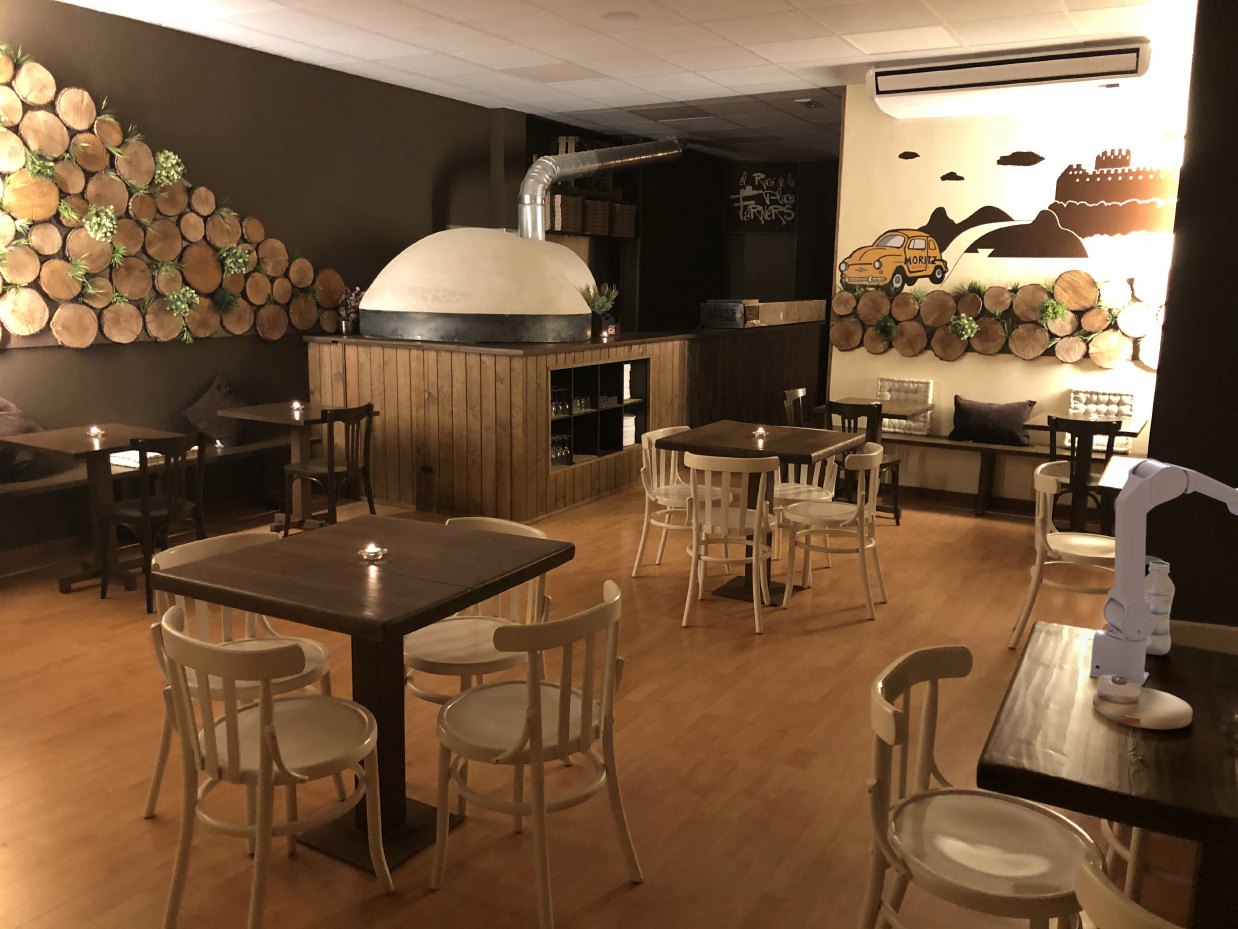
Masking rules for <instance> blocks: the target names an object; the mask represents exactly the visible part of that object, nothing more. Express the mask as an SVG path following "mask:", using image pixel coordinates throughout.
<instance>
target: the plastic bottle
mask: <svg viewBox="0 0 1238 929" xmlns="http://www.w3.org/2000/svg"><path fill="white" fill-rule="evenodd" d="M1148 571H1150V573H1149V574H1148V575H1147V576H1146V577H1145V593H1146V595H1147V597H1148V600H1149V602H1150V611H1151V614H1152V616H1153V618H1154V620H1155V627H1154V630H1153V632H1152V633H1151V634H1150V635H1149V636H1148V637H1147V645H1146V654H1148V655H1153V656H1164V655H1167V653H1168V652H1170V650H1171V645H1172V639H1171V634H1170V618H1171V615H1170V613H1171V612H1172V611H1171V610H1172V604H1173V599H1174V596H1175V591H1176V587H1175V584H1174V583H1173V581H1172V579H1171V578H1170V577H1169V575H1168V574H1169V573H1170V571H1171V570H1170V563H1169V562H1165V561H1163V562H1162V561H1151V562H1150V565H1149V569H1148Z"/></svg>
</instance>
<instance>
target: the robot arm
mask: <svg viewBox="0 0 1238 929" xmlns="http://www.w3.org/2000/svg"><path fill="white" fill-rule="evenodd" d="M1127 476H1128V477H1127V480H1126V481H1125V483H1124V485H1123V486H1122V488H1121V490H1120V492H1119V494H1118V495H1117V497H1116V499H1115V524H1114V525H1115V530H1114V532H1115V534H1114V581H1113V582H1114V585H1113V587H1112V588H1110V589H1109V590H1108V591H1107V599H1106V602H1105V604H1104V605H1103V607H1102V616H1103V618H1104V619H1105V621H1106V622H1107V627H1106V629H1097V630H1095V633H1094V635H1093V641H1092V645H1091V646H1092V648H1091V649H1092V650H1091V658H1090V659H1091V661H1090V662H1091V663H1090V672H1089V677H1093V678H1097V679H1098V677H1100V676H1102V675H1120V676H1125V677H1129V678H1132V679H1134V680H1136V681H1138V682H1139V683H1140V687H1143V685H1144V683H1145V682H1146V680H1147V679H1148V678H1149V676H1150V673H1149V671H1145V667H1146V645H1147V637H1148V636H1149V635H1150V634H1151V633H1152V632H1153V630H1154V627H1155V620H1154V618H1153V616H1152V614H1151V611H1150V602H1149V600H1148V597H1147V595H1146V593H1145V555H1146V552H1147V551H1146V547H1147V546H1146V544H1147V543H1146V538H1147V514H1148V513H1149V512H1150V511H1151V510H1152V509H1153V508H1155V507H1156V506H1159V505H1160V504H1163V503H1166V502H1168V501H1170V500H1173V499H1175V498H1177V497H1179V496H1181V495H1182V494H1183V493H1184V494H1187V495H1188V494H1191V493H1193V492H1198V493H1201V494H1203V495H1206V496H1208V497H1211V498H1213V499H1216V500H1217V501H1221V502H1223V503H1226V505H1227V508H1228V511H1229V512H1230V513H1231V514H1234V515H1236V516H1238V487H1237V488H1233V487H1231V486H1230V485H1227V484H1225V483H1223V482H1220V481H1218V480H1216V479H1214V478H1211V477H1210V476H1208V475H1205V474H1203V473H1201V472H1198V471H1197V470H1193V469H1189V468H1187V467H1183V466H1179V465H1177V464H1176V465H1175V464H1171V463H1168V462H1161V461H1159V460H1157V459H1155V458H1146V459H1143V460H1141V461H1139V462H1138V463H1136V464H1135V465H1134V466H1132V467H1131V468H1130V469H1128V474H1127Z"/></svg>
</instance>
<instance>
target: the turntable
mask: <svg viewBox="0 0 1238 929" xmlns="http://www.w3.org/2000/svg"><path fill="white" fill-rule="evenodd" d="M1092 706H1093V707H1094V709H1095V710H1096V711H1097V712H1098V713H1100V714H1102V715H1103V716H1105V717H1107V718H1109V719H1112V720H1114V721H1116V722H1119V723H1122V724H1124V725H1128V726H1131V727H1135V728H1144V729H1150V730H1151V729H1152V730H1176V729H1182V728H1185V727H1187V726H1189V725H1190V724H1191V723H1192V720H1193V713H1194V712H1193V708H1192V707H1191V705H1190V704H1189V703H1188V702H1186V701H1185V700H1183V699H1182V698H1179V697H1177V696H1175V695H1173V694H1170V693H1168V692H1165V691H1161V690H1159V689H1158V690H1157V689H1155V688H1150V687H1143V686H1140V697H1139V702H1138V703H1137V704H1133V705H1120V704H1114V703H1110V702H1107V701H1105V700H1102V699H1101V698H1099V697H1098V696H1097V689H1096V690H1095V691H1093V695H1092Z"/></svg>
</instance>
